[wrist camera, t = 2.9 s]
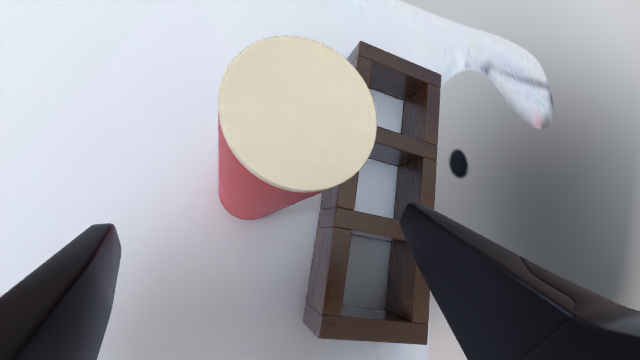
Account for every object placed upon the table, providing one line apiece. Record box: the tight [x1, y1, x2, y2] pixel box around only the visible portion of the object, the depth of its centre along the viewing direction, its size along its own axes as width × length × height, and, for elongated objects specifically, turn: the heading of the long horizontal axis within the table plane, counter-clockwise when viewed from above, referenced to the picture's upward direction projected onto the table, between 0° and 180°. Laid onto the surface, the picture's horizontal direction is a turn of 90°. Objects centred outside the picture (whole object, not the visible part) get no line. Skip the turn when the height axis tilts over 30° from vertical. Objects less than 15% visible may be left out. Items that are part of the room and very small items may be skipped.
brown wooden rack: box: [303, 41, 441, 345], centre depth 20 cm, size 19×7×3 cm, turn 169°
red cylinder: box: [218, 36, 377, 220], centre depth 12 cm, size 4×4×12 cm
